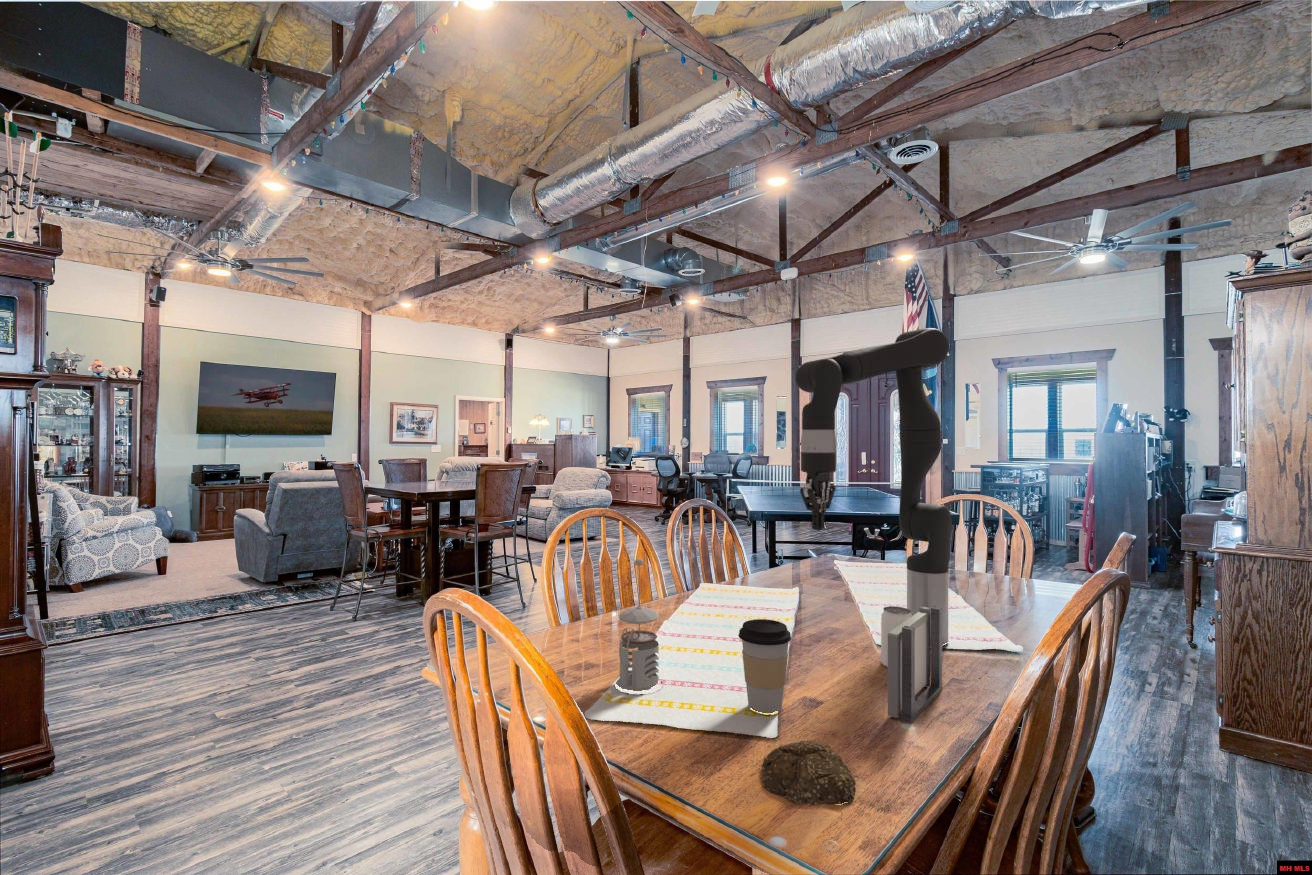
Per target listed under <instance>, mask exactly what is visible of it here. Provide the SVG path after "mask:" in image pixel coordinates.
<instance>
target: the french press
mask: <svg viewBox="0 0 1312 875" xmlns="http://www.w3.org/2000/svg"><path fill="white" fill-rule="evenodd" d="M634 565H635V566H638V606H633V607H629V608H627V609H625V610H624V611H622V612H621V613H619V615H618V618H619V620H620V621H621V622H623V623H626V624H633V625H635V624H636V625H638V630H635V628H633V629H631V631H628V629H627V627H624V629H623V631H622V632H621V635H620V639H619V644H618V645H619V646H618V657H619V678H618V679H617V680H616V682H615V683H616V684H617V685H618V686H619V687H621V688H622V689H627V690H633V691H642V690H649V689H651V687H653V686H655V685H656V684H657V683H658V680H659V679H660V677H659V675H658V674H659V669H658V668H659V662H657V661H659V658H660V657H659V656H658V655H657V654H659V653H660V652H659V650H660V649H659V645H660V644H659V642H658V641H657V640H656V639H657V638H658V635H657V634H656V633H654V631H651V630H650V631H649V630H641V627H640V626H641V625H642V624H648V623H653V622H655V621H657V620H658V619H659V617H660V614H659V613H658V612H657V611H656V610H654V609H653V608H649V607H645V606H644V607H643V606H641V604H640V603H641V595H640V594H641V566H644V565H645V561H644V560H643V559H642V558H637V559H635V560H634ZM630 649H631V651H630ZM634 649H637V650H634ZM629 656H631V657H629ZM630 662H631V663H630ZM657 667H658V668H657ZM629 669H631V670H629Z"/></svg>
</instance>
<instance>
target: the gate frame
mask: <svg viewBox="0 0 1312 875" xmlns="http://www.w3.org/2000/svg"><path fill="white" fill-rule="evenodd" d="M943 685H944V684H943V646H942V607H936V606H933V607H931V646H930V686H927V688H926V689H925V690H924V691H923V692H922V693H921V694H920V695H919V696H918V697H917V698H915V697H916V695H915V627H910V626H904V627H902V709H901V714H900V721H901V722H903V723H907V724H912V723H913V722H914V721H915V720H916V718H917V717H919V716H920V714H921V713H922V712H923V711H924V710H925V709H926V708H927V707H928V706H929V704H930V703H932V701H933V700H934V699H935V698H936V697H937V696H938V695H939V693H941V692H942V690H943V689H944V688H943V687H944V686H943Z"/></svg>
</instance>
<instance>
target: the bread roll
mask: <svg viewBox="0 0 1312 875" xmlns="http://www.w3.org/2000/svg"><path fill="white" fill-rule="evenodd" d="M761 770H762V771H763V778H762V784H763V787H764V789H765V790H766V791H767V792H769V791H770V793H771V794H773V793H774V795H776V796H779V797H784V796H786V797H785V798H787V799H788V801H791V802H793V803H795V802H798V803H797V804H799V803H805V804H804V805H807V804H810V805H809V806H817V805H832V804H842V803H844V802H848V803H847V804H849V803H851V802H853V800H854V799H855V796H856V790H857V789H856V784H857V782H856V780H855V778H854V776H853V774H852V771H851V770H850V769H849V767H848V765H847V764H846V762H845V761H844V760H843V758H842V756H841V755H839V754H838V753H836V750H835V749H832V748H831V747H830V745H824V744H822V743H819V742H816V741H811V740H804V741H803V740H801V741H799V742H798V741H797V742H796V741H795V742H791V743H789V744H787V743H786V744H784V745H780V746H778V747H776V748H774V749H772V750H771V751H770V752H769V753H768V754H767V755H766V757H764V758H763V761H762V764H761ZM850 801H851V802H850Z"/></svg>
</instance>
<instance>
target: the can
mask: <svg viewBox="0 0 1312 875" xmlns="http://www.w3.org/2000/svg"><path fill="white" fill-rule="evenodd" d="M880 616H881V618H880V625H881V627H880V628H881V629H880V634H881V635H880V638H881V639H880V644H881V646H880V647H881V648H880V651H881V652H880V654H881V656H880V657H881V659H880V660H881V664H882V665H883V666H884V667H885V668H887V669H888V632H890V631H891V630H893V629H894V628H896V627H897V626H899V625H900V624H902V623H903V622H904V621H906V620H907V619H909V618H910V617H912V615H911V610H909V609H907V607H902V606H894V605H893V606H889V605H888V606H885V607H883V611H882V613H881V615H880Z"/></svg>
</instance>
